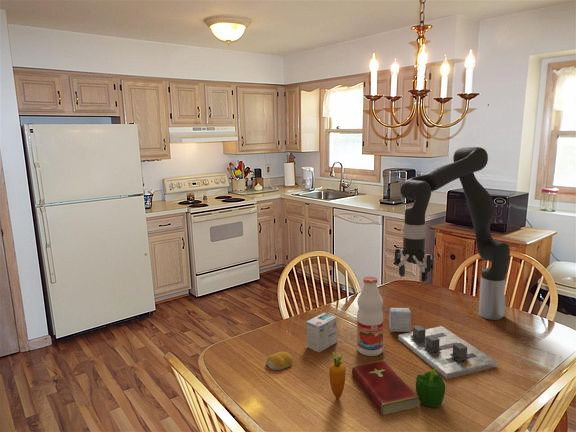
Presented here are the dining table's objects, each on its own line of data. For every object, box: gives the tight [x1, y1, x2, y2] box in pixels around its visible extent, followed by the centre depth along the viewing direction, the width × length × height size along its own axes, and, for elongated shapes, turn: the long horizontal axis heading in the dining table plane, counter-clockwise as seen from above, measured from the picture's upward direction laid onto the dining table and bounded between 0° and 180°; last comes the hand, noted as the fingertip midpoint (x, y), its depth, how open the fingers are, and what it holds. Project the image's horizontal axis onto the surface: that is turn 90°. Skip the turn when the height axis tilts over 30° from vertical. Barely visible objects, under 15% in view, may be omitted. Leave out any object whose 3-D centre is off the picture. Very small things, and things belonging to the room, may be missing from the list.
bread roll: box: [266, 351, 294, 371], centre depth 144 cm, size 8×9×4 cm
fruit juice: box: [356, 275, 384, 357], centre depth 149 cm, size 9×9×28 cm
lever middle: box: [424, 335, 441, 352], centre depth 146 cm, size 4×4×4 cm
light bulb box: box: [305, 312, 338, 353], centre depth 156 cm, size 11×7×11 cm, turn 134°
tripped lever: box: [450, 343, 469, 361], centre depth 140 cm, size 4×4×4 cm
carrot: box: [328, 352, 347, 400], centre depth 123 cm, size 5×5×15 cm
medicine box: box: [388, 307, 412, 333], centre depth 166 cm, size 8×4×9 cm, turn 84°
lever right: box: [411, 325, 426, 342], centre depth 153 cm, size 4×4×4 cm
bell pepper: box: [415, 368, 446, 409], centre depth 120 cm, size 8×8×10 cm
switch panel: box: [397, 325, 497, 380], centre depth 148 cm, size 20×28×2 cm
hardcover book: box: [351, 359, 419, 416], centre depth 127 cm, size 12×21×4 cm, turn 15°
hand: (412, 278), depth 150 cm, fingers open, 8 cm apart
